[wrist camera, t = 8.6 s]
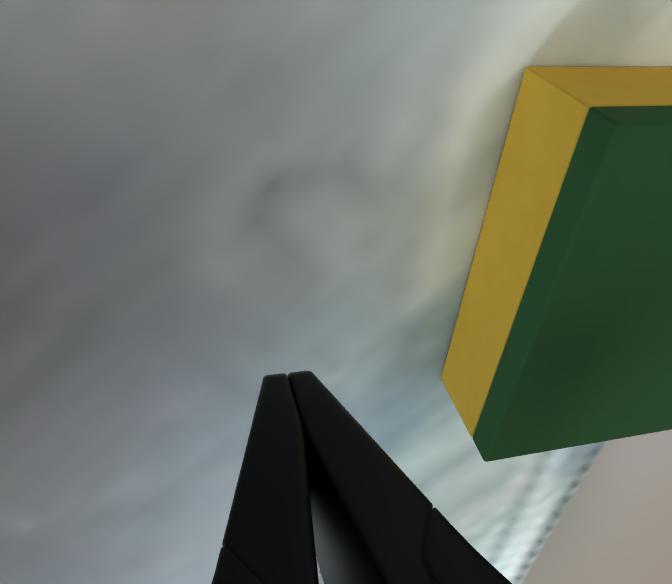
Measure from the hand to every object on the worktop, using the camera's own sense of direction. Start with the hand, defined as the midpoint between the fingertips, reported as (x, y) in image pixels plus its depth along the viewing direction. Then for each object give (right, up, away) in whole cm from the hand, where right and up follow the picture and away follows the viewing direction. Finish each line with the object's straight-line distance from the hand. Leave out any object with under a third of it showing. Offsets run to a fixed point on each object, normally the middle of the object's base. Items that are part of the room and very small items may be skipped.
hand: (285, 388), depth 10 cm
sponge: (+7, +3, +5) cm, 9 cm away
